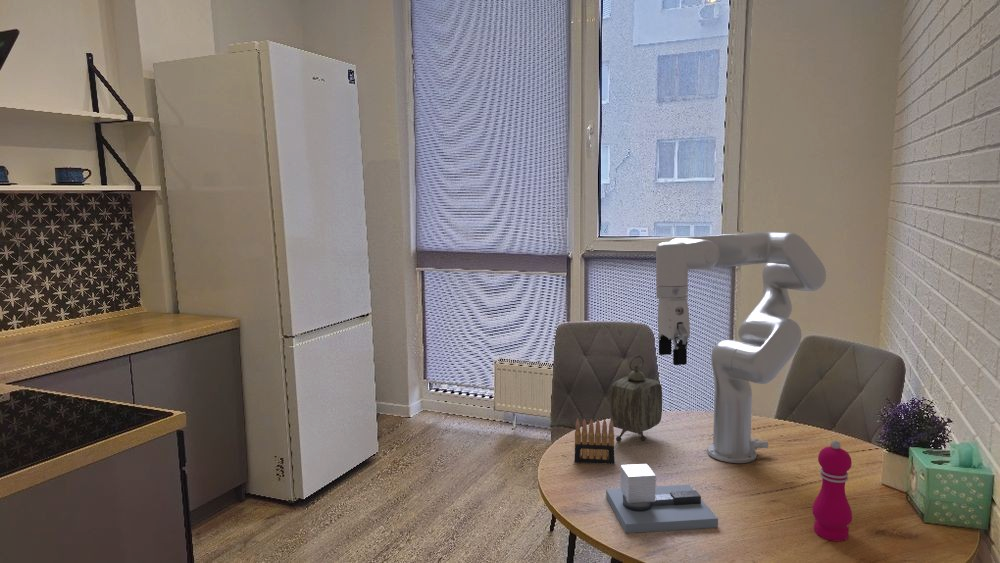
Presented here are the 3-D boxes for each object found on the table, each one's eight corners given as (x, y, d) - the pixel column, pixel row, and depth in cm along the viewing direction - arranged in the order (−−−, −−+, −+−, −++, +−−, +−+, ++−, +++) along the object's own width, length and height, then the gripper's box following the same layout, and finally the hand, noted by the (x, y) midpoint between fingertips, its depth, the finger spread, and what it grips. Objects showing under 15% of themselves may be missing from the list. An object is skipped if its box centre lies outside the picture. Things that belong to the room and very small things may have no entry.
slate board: (688, 492, 146) (688, 484, 146) (717, 527, 130) (718, 518, 130) (606, 497, 144) (606, 489, 144) (625, 533, 129) (625, 524, 128)
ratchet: (692, 494, 141) (693, 471, 140) (704, 507, 135) (704, 483, 134) (619, 498, 140) (619, 475, 139) (627, 512, 133) (627, 488, 133)
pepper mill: (804, 525, 130) (808, 435, 128) (836, 523, 131) (841, 433, 128) (824, 544, 123) (829, 448, 121) (859, 541, 124) (864, 446, 121)
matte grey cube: (646, 488, 140) (646, 463, 139) (655, 501, 134) (655, 475, 133) (620, 490, 139) (620, 465, 138) (628, 503, 133) (628, 476, 133)
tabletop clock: (637, 428, 188) (638, 349, 185) (663, 436, 181) (664, 353, 178) (609, 442, 178) (609, 358, 175) (636, 450, 171) (637, 363, 168)
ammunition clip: (614, 461, 164) (614, 418, 163) (614, 464, 163) (614, 420, 161) (574, 459, 166) (574, 417, 165) (574, 462, 164) (574, 419, 163)
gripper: (701, 296, 143) (701, 367, 145) (673, 286, 160) (673, 350, 162) (670, 298, 142) (670, 369, 145) (645, 287, 159) (646, 351, 162)
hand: (672, 359), depth 154 cm, fingers open, 9 cm apart
